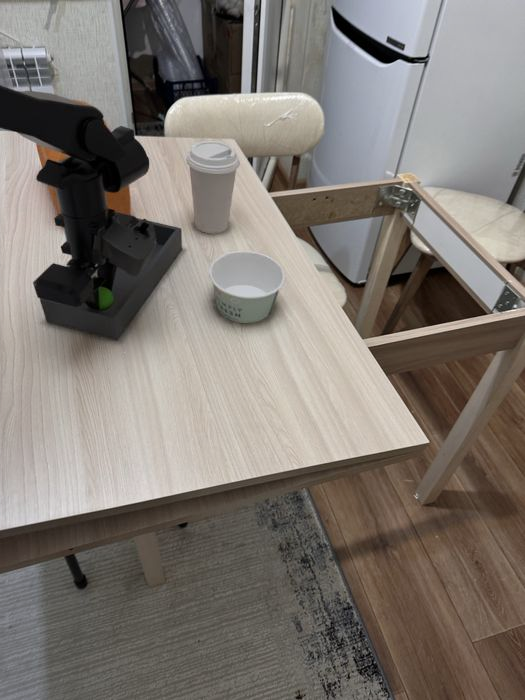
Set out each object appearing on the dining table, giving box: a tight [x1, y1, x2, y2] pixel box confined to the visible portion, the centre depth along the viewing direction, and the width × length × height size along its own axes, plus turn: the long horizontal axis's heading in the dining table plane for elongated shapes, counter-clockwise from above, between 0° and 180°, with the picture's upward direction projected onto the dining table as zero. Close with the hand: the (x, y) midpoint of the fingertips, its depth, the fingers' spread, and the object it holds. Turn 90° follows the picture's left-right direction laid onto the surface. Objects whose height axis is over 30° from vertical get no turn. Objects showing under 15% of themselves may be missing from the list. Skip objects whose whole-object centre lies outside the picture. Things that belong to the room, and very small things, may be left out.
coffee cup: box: [185, 140, 241, 235], centre depth 91 cm, size 10×10×15 cm
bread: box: [35, 99, 132, 216], centre depth 94 cm, size 14×26×16 cm, turn 25°
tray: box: [39, 217, 183, 342], centre depth 80 cm, size 12×26×4 cm, turn 165°
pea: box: [99, 287, 114, 311], centre depth 71 cm, size 4×4×4 cm
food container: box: [208, 250, 286, 324], centre depth 78 cm, size 12×12×6 cm
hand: (101, 302), depth 72 cm, fingers closed on pea, 3 cm apart
